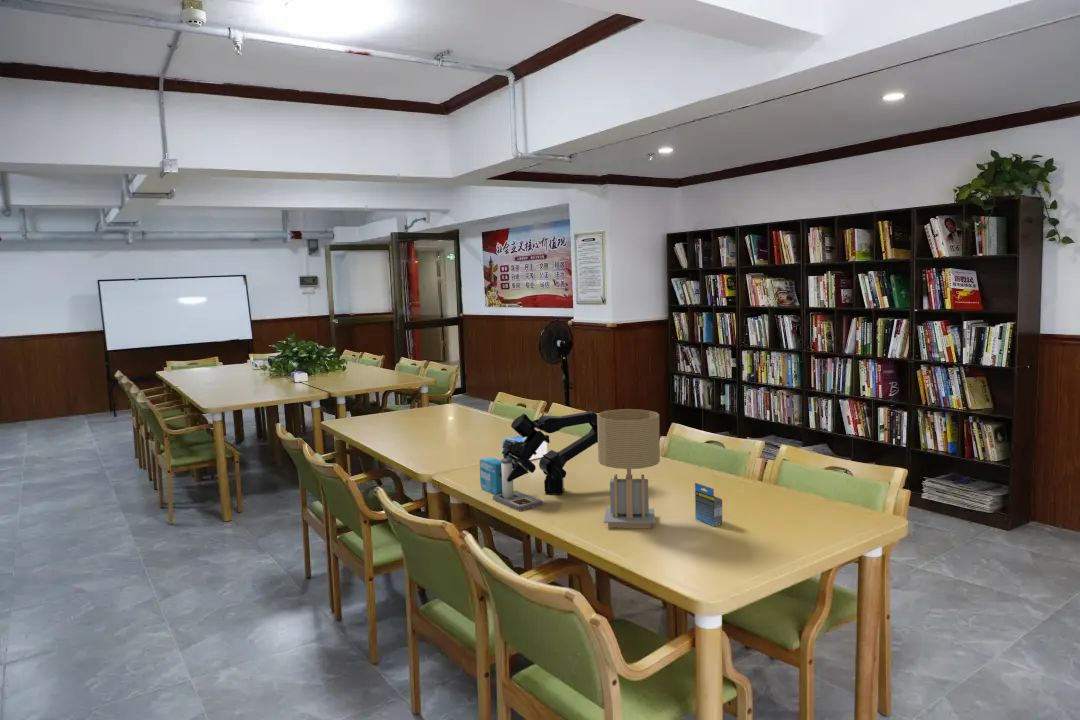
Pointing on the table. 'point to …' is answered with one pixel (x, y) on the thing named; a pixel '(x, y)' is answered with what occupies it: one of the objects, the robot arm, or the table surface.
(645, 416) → the desk lamp
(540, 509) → the table surface
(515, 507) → the jack panel
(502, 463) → the white cylinder with cap
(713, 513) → the label tape cartridge
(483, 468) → the blue box
